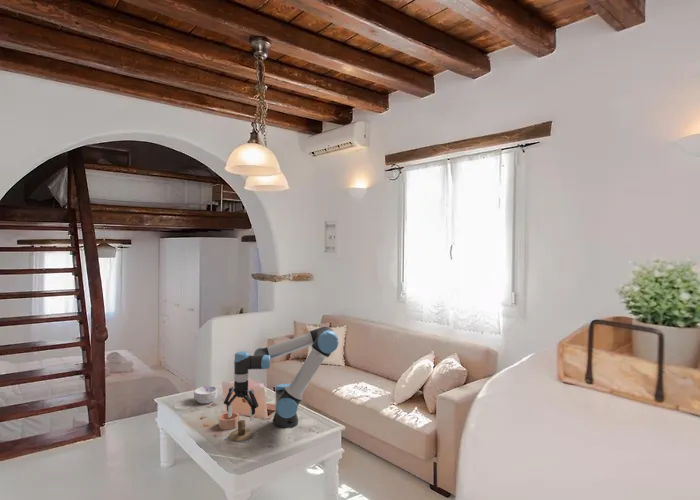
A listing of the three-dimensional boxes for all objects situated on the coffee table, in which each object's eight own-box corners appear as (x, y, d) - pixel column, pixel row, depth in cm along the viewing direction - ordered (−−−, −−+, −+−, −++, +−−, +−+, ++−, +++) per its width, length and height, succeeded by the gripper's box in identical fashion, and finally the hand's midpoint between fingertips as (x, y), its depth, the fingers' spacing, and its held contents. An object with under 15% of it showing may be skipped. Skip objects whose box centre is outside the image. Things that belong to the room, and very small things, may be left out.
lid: (257, 432, 243) (257, 418, 242) (246, 442, 230) (246, 428, 230) (237, 429, 246) (237, 415, 246) (224, 439, 234) (224, 425, 233)
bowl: (242, 423, 255) (242, 413, 255) (232, 431, 245) (232, 421, 245) (225, 421, 258) (225, 411, 258) (215, 429, 248) (215, 418, 248)
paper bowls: (190, 405, 283) (190, 393, 283) (199, 397, 298) (199, 385, 298) (213, 405, 282) (213, 393, 282) (220, 397, 297) (220, 385, 297)
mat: (259, 433, 243) (259, 432, 243) (246, 444, 229) (246, 443, 229) (237, 430, 247) (237, 428, 247) (223, 441, 233) (223, 439, 233)
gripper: (264, 380, 237) (264, 418, 238) (225, 375, 244) (224, 412, 245) (258, 384, 230) (257, 424, 231) (217, 380, 237) (217, 418, 237)
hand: (240, 418), depth 238 cm, fingers open, 13 cm apart
